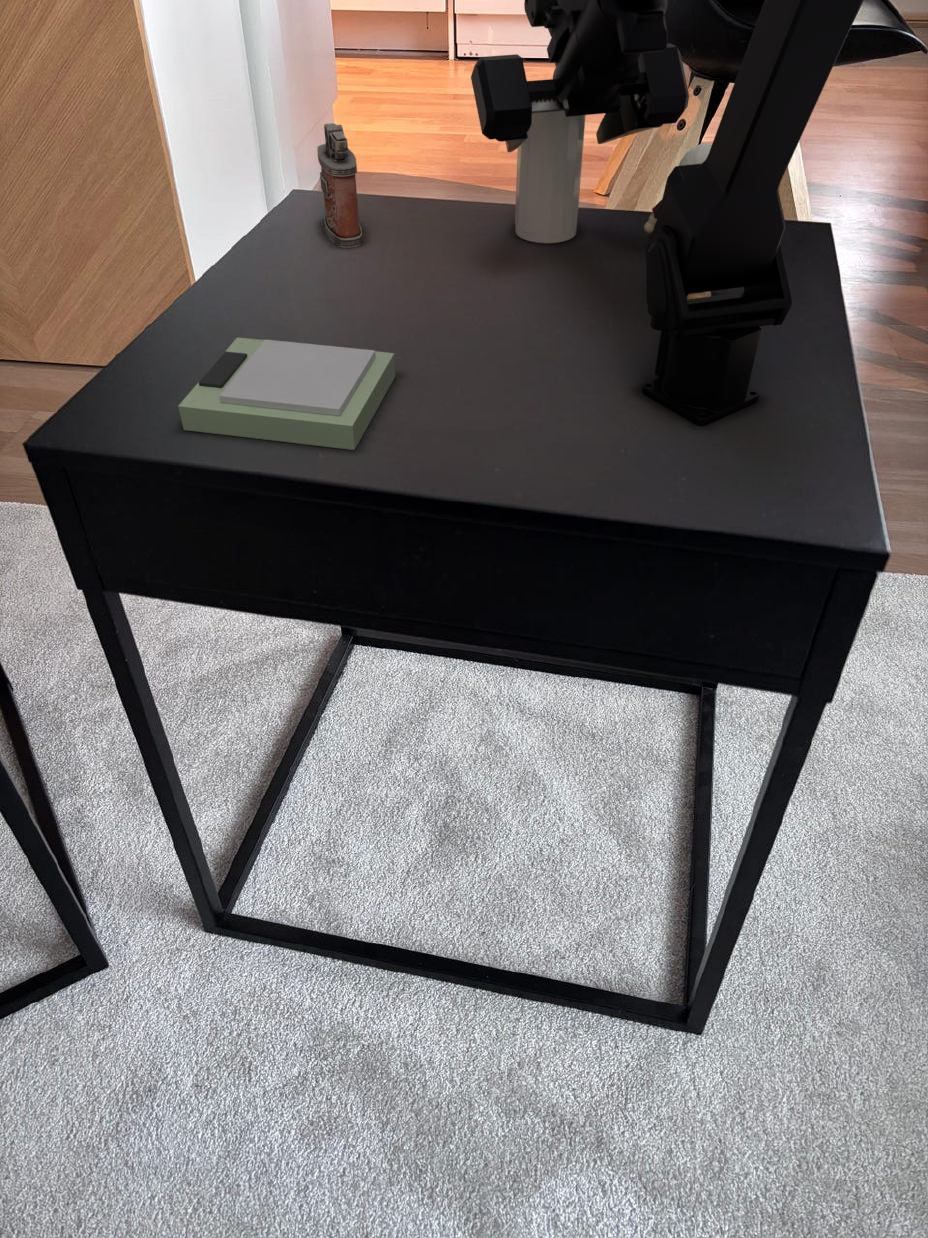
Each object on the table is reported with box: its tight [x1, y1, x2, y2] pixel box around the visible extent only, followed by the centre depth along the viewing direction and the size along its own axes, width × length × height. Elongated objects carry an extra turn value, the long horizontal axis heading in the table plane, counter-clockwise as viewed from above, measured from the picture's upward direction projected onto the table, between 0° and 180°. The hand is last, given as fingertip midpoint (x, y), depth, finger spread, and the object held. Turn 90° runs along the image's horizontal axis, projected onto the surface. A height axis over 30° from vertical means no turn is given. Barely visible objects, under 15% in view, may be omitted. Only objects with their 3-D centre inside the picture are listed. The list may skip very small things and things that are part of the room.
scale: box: [177, 337, 396, 451], centre depth 71 cm, size 13×11×3 cm
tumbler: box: [514, 111, 587, 244], centre depth 92 cm, size 6×6×13 cm
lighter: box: [316, 122, 363, 249], centre depth 93 cm, size 8×3×10 cm, turn 17°
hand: (553, 142), depth 90 cm, fingers open, 9 cm apart
